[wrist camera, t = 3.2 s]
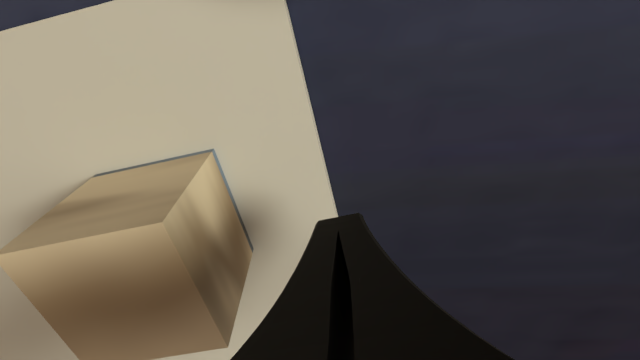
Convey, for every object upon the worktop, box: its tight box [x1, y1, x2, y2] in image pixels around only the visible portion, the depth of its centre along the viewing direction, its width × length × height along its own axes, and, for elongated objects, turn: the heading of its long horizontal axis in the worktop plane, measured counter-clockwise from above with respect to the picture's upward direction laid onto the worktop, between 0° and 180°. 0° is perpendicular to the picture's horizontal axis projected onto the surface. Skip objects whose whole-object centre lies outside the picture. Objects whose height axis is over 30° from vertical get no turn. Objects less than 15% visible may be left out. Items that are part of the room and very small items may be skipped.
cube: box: [0, 149, 254, 360], centre depth 13 cm, size 5×5×5 cm
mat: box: [0, 0, 338, 360], centre depth 16 cm, size 18×22×1 cm
